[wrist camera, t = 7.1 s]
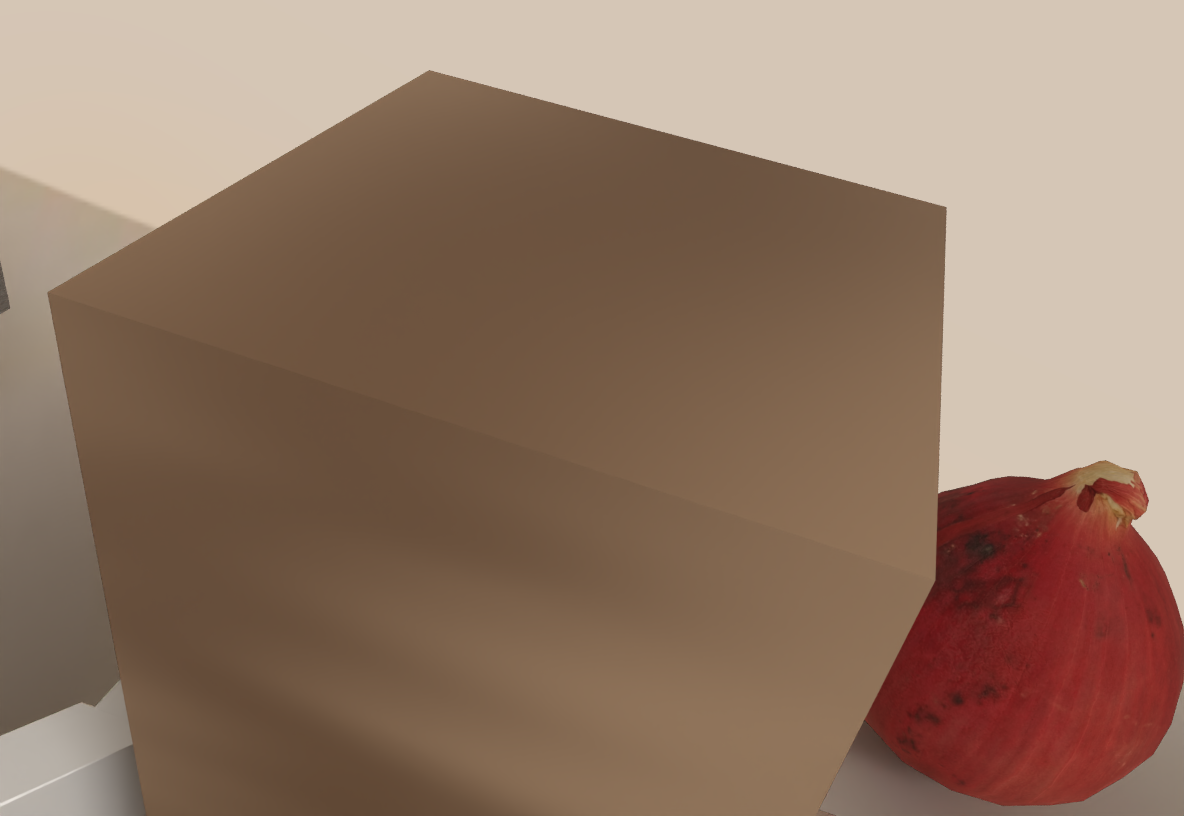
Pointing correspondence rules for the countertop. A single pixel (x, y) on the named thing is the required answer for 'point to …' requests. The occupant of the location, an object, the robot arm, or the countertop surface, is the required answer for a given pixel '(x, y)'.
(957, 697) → the onion
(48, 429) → the countertop surface
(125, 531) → the rail post
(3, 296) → the box
